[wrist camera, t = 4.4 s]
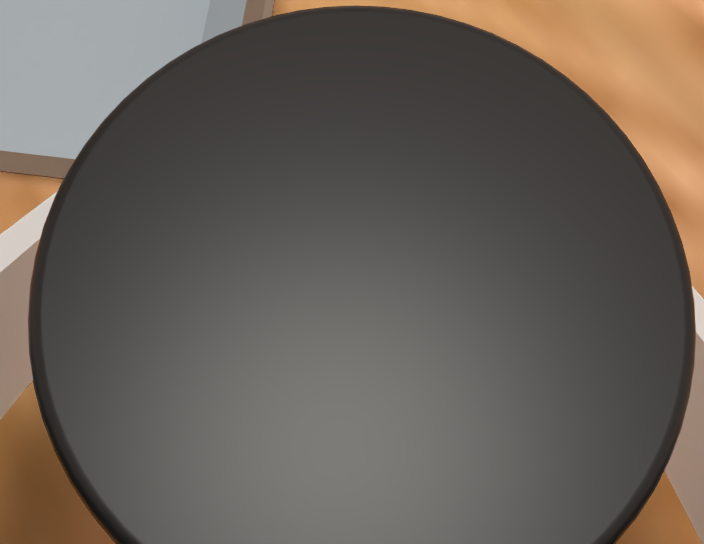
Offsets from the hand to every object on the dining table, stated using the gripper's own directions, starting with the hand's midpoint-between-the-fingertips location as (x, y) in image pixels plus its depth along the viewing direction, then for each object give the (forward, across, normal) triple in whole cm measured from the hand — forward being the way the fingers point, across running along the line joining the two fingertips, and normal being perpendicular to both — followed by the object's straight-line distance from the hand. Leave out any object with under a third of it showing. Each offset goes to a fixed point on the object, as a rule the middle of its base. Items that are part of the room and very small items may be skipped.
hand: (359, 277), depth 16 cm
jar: (+2, 0, -5) cm, 5 cm away
